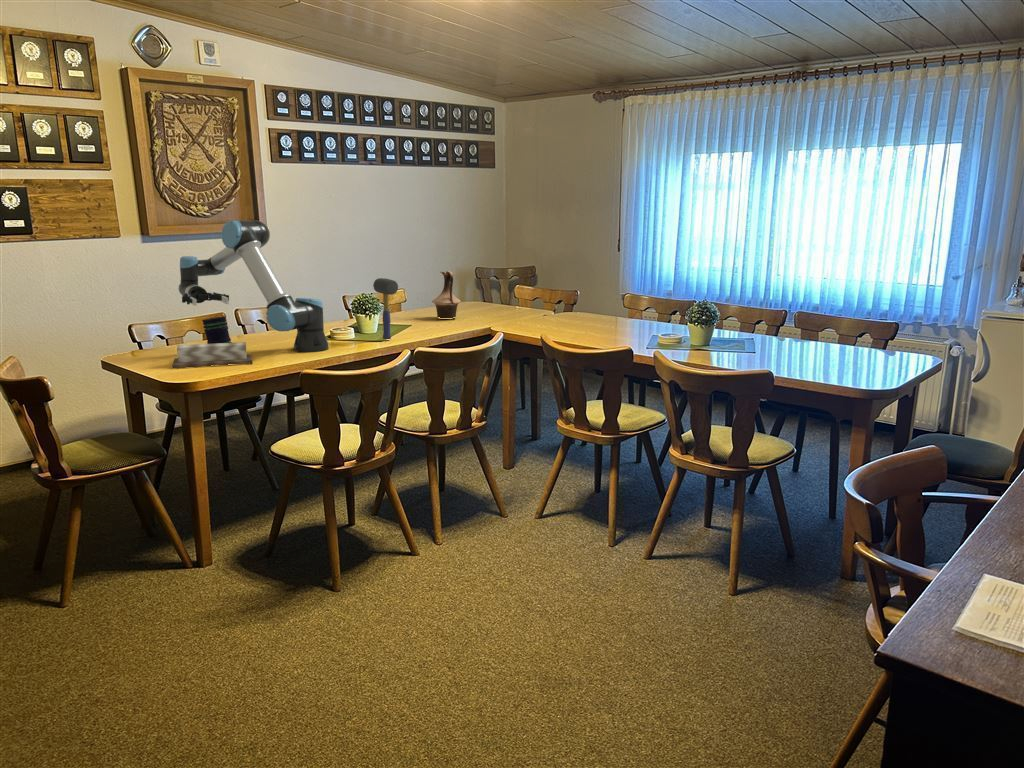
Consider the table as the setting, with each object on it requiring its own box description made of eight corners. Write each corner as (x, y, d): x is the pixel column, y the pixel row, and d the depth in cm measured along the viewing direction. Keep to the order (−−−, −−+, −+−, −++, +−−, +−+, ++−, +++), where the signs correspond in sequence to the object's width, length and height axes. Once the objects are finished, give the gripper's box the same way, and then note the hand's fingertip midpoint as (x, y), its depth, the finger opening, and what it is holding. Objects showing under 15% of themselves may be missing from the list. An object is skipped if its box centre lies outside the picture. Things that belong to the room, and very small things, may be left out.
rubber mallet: (373, 339, 357) (371, 277, 350) (386, 337, 362) (385, 277, 355) (387, 343, 348) (385, 280, 341) (400, 341, 353) (399, 279, 346)
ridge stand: (251, 357, 312) (250, 340, 310) (252, 364, 299) (251, 346, 297) (174, 361, 301) (173, 343, 299) (172, 368, 289) (170, 350, 287)
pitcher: (466, 320, 421) (466, 271, 415) (439, 322, 413) (439, 272, 406) (453, 316, 436) (453, 268, 429) (427, 317, 428) (426, 269, 421)
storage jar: (204, 355, 315) (197, 320, 312) (217, 351, 324) (210, 318, 321) (225, 352, 313) (217, 318, 310) (237, 348, 322) (230, 315, 319)
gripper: (224, 300, 343) (240, 308, 328) (167, 303, 327) (182, 311, 312) (223, 284, 341) (240, 292, 326) (166, 286, 325) (181, 294, 310)
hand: (211, 301), depth 319 cm, fingers open, 13 cm apart
